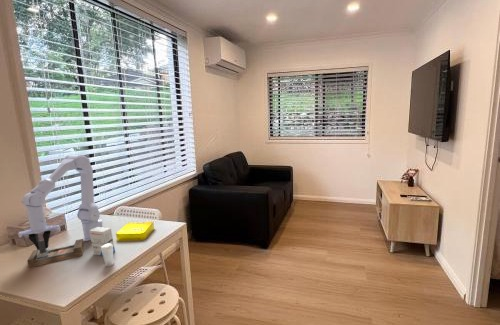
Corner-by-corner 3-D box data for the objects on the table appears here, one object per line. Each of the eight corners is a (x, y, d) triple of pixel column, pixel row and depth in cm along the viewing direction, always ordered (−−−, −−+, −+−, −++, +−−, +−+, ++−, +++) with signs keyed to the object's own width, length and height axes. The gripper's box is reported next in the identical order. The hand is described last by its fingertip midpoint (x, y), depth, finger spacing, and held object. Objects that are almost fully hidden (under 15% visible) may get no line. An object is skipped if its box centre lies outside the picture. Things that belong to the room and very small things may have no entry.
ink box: (115, 251, 131) (111, 227, 129) (107, 256, 127) (103, 232, 125) (101, 249, 134) (97, 226, 132) (92, 254, 130) (88, 230, 128)
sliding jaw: (51, 251, 131) (48, 236, 129) (48, 257, 125) (45, 241, 124) (40, 253, 129) (37, 238, 128) (37, 259, 124) (34, 244, 122)
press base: (84, 246, 138) (82, 238, 138) (82, 255, 129) (80, 247, 129) (34, 257, 130) (32, 249, 129) (28, 267, 121) (26, 258, 120)
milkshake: (104, 262, 122) (100, 240, 120) (117, 261, 122) (113, 239, 120) (99, 268, 117) (96, 245, 116) (113, 266, 118) (109, 244, 116)
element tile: (155, 228, 156) (154, 220, 156) (144, 240, 142) (143, 231, 141) (128, 229, 157) (127, 221, 156) (115, 242, 142) (114, 233, 141)
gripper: (13, 226, 118) (20, 256, 120) (55, 218, 124) (60, 247, 126) (18, 220, 124) (24, 249, 126) (57, 214, 130) (63, 241, 132)
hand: (43, 248), depth 127 cm, fingers closed on sliding jaw, 2 cm apart
